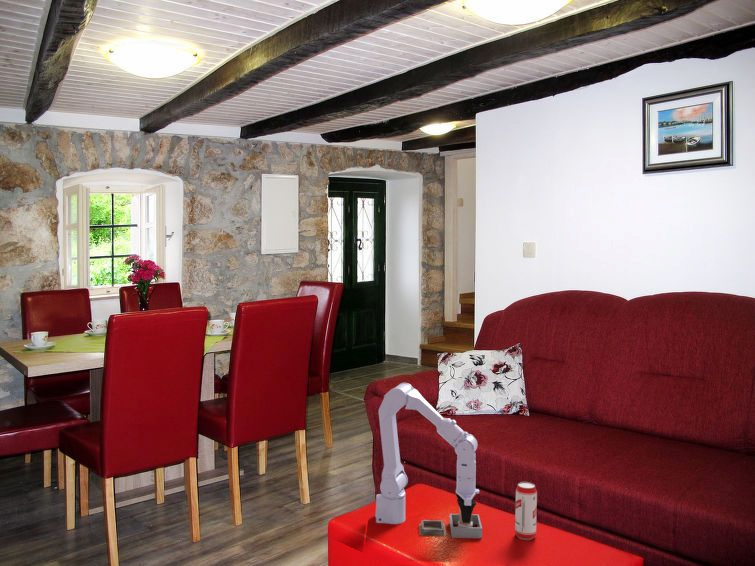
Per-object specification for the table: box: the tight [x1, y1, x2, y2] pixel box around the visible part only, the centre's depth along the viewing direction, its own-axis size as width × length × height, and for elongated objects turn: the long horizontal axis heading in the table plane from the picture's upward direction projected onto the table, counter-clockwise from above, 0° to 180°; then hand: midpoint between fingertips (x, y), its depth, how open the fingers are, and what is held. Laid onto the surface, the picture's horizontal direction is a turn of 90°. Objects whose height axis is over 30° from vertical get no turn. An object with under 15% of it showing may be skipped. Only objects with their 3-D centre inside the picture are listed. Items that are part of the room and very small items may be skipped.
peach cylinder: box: [457, 507, 474, 527], centre depth 204 cm, size 4×4×8 cm
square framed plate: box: [418, 519, 447, 537], centre depth 204 cm, size 8×8×2 cm
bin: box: [449, 513, 483, 539], centre depth 204 cm, size 9×10×4 cm
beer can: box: [514, 481, 538, 541], centre depth 202 cm, size 6×6×16 cm
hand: (465, 519), depth 204 cm, fingers closed on peach cylinder, 4 cm apart
